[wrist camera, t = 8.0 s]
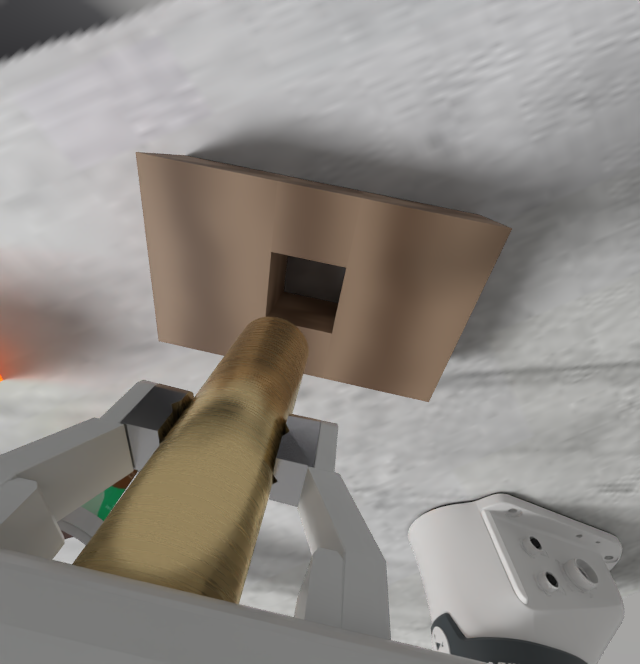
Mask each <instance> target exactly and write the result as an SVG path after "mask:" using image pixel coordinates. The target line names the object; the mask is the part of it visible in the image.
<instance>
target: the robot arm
mask: <svg viewBox="0 0 640 664" xmlns="http://www.w3.org/2000/svg"><path fill="white" fill-rule="evenodd" d="M193 398H194V396H193V393H192V392H190V391H187V390H183V389H179V388H175V387H171V386H167V385H163V384H158V383H154V382H150V381H146V380H142V381H139V382H137V383H136V384H135V385H134V386H133V387H132V388H131V389H130V390H129V391H128V392H127V393H126V394H125V395H124V396H123V397H122V398H120V399H119V400H118V401H117V402H116V403H115V404H114V405H113V406H112V407H111V408H110V409H109V410H108V411H107V412H106V413H105V414H104V415H103V416H102V417H101V418H100V419H99V418H92V419H89V420H87V421H84V422H82V423H79V424H77V425H74V426H72V427H69V428H67V429H64V430H62V431H59V432H57V433H54V434H52V435H49V436H47V437H44V438H42V439H39V440H37V441H34V442H32V443H29V444H27V445H24V446H22V447H19V448H17V449H14V450H12V451H9V452H7V453H4V454H2V455H0V664H597V663H598V661H599V660H600V658H601V656H602V654H603V653H604V651H605V649H606V648H607V646H608V644H609V643H610V641H611V639H612V638H613V636H614V635H615V633H616V631H617V630H618V628H619V627H620V625H621V624H622V621H623V618H624V605H623V601H622V597H621V595H620V592H619V590H618V588H617V585H616V583H615V581H614V579H613V577H612V575H611V573H610V570H611V569H612V568H613V567H614V566H615V565H616V564H617V562H618V561H619V559H620V557H621V555H622V545H621V543H620V541H619V540H618V538H617V537H616V536H614V535H612V534H609V533H607V532H604V531H601V530H599V529H596V528H594V527H591V526H588V525H586V524H583V523H581V522H578V521H575V520H573V519H570V518H568V517H565V516H563V515H560V514H557V513H555V512H552V511H550V510H547V509H544V508H542V507H539V506H537V505H534V504H531V503H529V502H526V501H524V500H521V499H518V498H516V497H513V496H511V495H508V494H494V495H491V496H488V497H485V498H482V499H480V500H477V501H474V502H469V503H462V504H454V505H448V506H444V507H440V508H437V509H434V510H431V511H429V512H427V513H425V514H423V515H422V516H420V517H419V518H418V519H416V520H415V521H414V522H413V524H412V525H411V527H410V529H409V531H408V540H409V543H410V545H411V548H412V550H413V553H414V556H415V558H416V561H417V565H418V568H419V571H420V575H421V578H422V582H423V586H424V590H425V594H426V598H427V602H428V606H429V611H430V616H431V620H432V627H431V634H432V649H433V650H431V649H426V648H422V647H418V646H414V645H410V644H405V643H401V642H397V641H393V640H391V633H390V617H389V601H388V586H387V570H386V561H385V559H384V557H383V555H382V553H381V551H380V549H379V547H378V545H377V544H376V542H375V540H374V538H373V536H372V534H371V532H370V530H369V528H368V527H367V525H366V523H365V521H364V519H363V517H362V515H361V513H360V511H359V510H358V508H357V506H356V504H355V502H354V500H353V498H352V496H351V495H350V493H349V491H348V489H347V487H346V485H345V483H344V481H343V479H342V478H341V476H340V474H339V473H335V472H334V470H335V459H336V447H337V435H338V425H337V424H335V423H331V422H326V421H322V420H317V419H313V418H308V417H303V416H299V415H294V414H289V415H288V418H287V422H286V425H285V431H284V436H282V439H281V442H280V446H279V449H278V453H277V456H276V461H275V466H274V472H273V475H274V480H273V484H272V487H271V491H270V497H269V500H273V501H277V502H281V503H285V504H289V505H292V506H296V507H298V512H299V515H300V518H301V522H302V525H303V528H304V531H305V535H306V538H307V541H308V544H309V548H310V551H311V554H312V558H311V561H310V564H309V566H308V569H307V572H306V575H305V578H304V580H303V583H302V586H301V589H300V591H299V594H298V597H297V602H296V608H295V615H294V617H291V616H287V615H283V614H279V613H274V612H270V611H266V610H262V609H257V608H253V607H249V606H245V605H241V604H236V603H232V602H228V601H224V600H219V599H215V598H211V597H207V596H203V595H198V594H194V593H190V592H186V591H181V590H177V589H173V588H169V587H165V586H160V585H156V584H152V583H148V582H143V581H139V580H135V579H131V578H127V577H122V576H118V575H114V574H110V573H105V572H101V571H97V570H93V569H88V568H84V567H80V566H76V565H72V564H67V563H63V562H59V561H55V560H52V559H53V558H54V557H55V555H56V554H57V553H58V551H59V550H60V549H61V547H62V546H63V545H64V536H63V534H62V532H61V530H60V528H59V526H58V524H57V522H58V521H59V520H61V519H62V518H64V517H65V516H67V515H68V514H70V513H71V512H73V511H74V510H76V509H77V508H79V507H80V506H82V505H83V504H85V503H86V502H88V501H89V500H91V499H92V498H94V497H95V496H97V495H98V494H100V493H101V492H103V491H104V490H106V489H107V488H109V487H110V486H112V485H113V484H115V483H116V482H118V481H119V480H121V479H122V478H124V477H125V476H127V475H128V474H130V473H131V472H133V471H134V469H136V470H142V468H143V467H144V465H145V464H146V463H147V461H148V460H149V459H150V457H151V456H152V455H153V453H154V452H155V450H156V449H157V448H158V446H159V445H160V444H161V442H162V441H163V439H164V438H165V437H166V435H167V434H168V433H169V431H170V430H171V429H172V427H173V426H174V424H175V423H176V422H177V420H178V419H179V418H180V416H181V415H182V413H183V412H184V411H185V409H186V408H187V407H188V405H189V404H190V403H191V401H192V400H193Z"/></svg>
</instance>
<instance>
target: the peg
mask: <svg viewBox="0 0 640 664" xmlns="http://www.w3.org/2000/svg"><path fill="white" fill-rule="evenodd" d="M308 354H309V347H308V343H307V340H306V338H305V336H304V335H303V333H302V332H301V331H300V329H299V328H297V327H296V326H295V325H294V324H292V323H291V322H289V321H287V320H284V319H282V318H278V317H262V318H258V319H255V320H254V321H252V322H250V323H249V324H248V325H247V326H246V327H245V329H244V330H243V331H242V333H241V334H240V335H239V337H238V338H237V340H236V341H235V342H234V344H233V345H232V346H231V348H230V349H229V350H228V352H227V353H226V355H225V356H224V357H223V359H222V360H221V361H220V363H219V364H218V366H217V367H216V368H215V370H214V371H213V372H212V374H211V375H210V377H209V378H208V379H207V381H206V382H205V383H204V385H203V386H202V387H201V389H200V390H199V392H198V393H197V394H196V396H195V397H194V398H193V400H192V401H191V403H190V404H189V405H188V407H187V408H186V409H185V411H184V412H183V413H182V415H181V416H180V418H179V419H178V420H177V422H176V423H175V424H174V426H173V427H172V429H171V430H170V431H169V433H168V434H167V435H166V437H165V438H164V439H163V441H162V442H161V444H160V445H159V446H158V448H157V449H156V450H155V452H154V453H153V455H152V456H151V457H150V459H149V460H148V461H147V463H146V464H145V465H144V467H143V468H142V470H141V471H140V472H139V474H138V475H137V476H136V478H135V479H134V481H133V482H132V483H131V485H130V486H129V487H128V489H127V490H126V491H125V493H124V494H123V496H122V497H121V498H120V500H119V501H118V502H117V504H116V505H115V507H114V508H113V509H112V511H111V512H110V513H109V515H108V516H107V518H106V519H105V520H104V522H103V523H102V524H101V526H100V527H99V528H98V530H97V531H96V533H95V534H94V535H93V537H92V538H91V539H90V541H89V542H88V544H87V545H86V546H85V548H84V549H83V550H82V552H81V553H80V554H79V556H78V557H77V559H76V560H75V561H74V563H73V564H72V565H76V566H80V567H84V568H88V569H93V570H97V571H101V572H105V573H110V574H114V575H118V576H122V577H127V578H131V579H135V580H139V581H143V582H148V583H152V584H156V585H160V586H165V587H169V588H173V589H177V590H181V591H186V592H190V593H194V594H198V595H203V596H207V597H211V598H215V599H219V600H224V601H228V602H232V603H236V604H239V601H240V598H241V594H242V591H243V587H244V583H245V580H246V576H247V573H248V569H249V566H250V562H251V558H252V555H253V551H254V548H255V544H256V541H257V537H258V533H259V530H260V526H261V523H262V519H263V516H264V512H265V509H266V505H267V501H268V498H269V494H270V491H271V487H272V484H273V480H274V475H273V472H274V466H275V461H276V456H277V453H278V449H279V446H280V442H281V439H282V436H284V431H285V425H286V422H287V418H288V415H289V414H292V412H293V409H294V405H295V401H296V398H297V394H298V391H299V387H300V384H301V380H302V376H303V373H304V369H305V366H306V362H307V359H308Z"/></svg>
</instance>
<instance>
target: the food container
mask: <svg viewBox="0 0 640 664" xmlns="http://www.w3.org/2000/svg"><path fill="white" fill-rule="evenodd" d="M137 472H138V470H136V469H134V471H133V472H131V473H130V474H128V475H127V476H125V477H124V478H122V479H121V480H119V481H118V482H116V483H115V484H113V485H112V486H110V487H109V488H107V489H106V490H104V491H103V492H101V493H100V494H98V495H97V496H95V497H94V498H92V499H91V500H89V501H88V502H86V503H85V504H83V505H82V506H80V507H79V508H77V509H76V510H74V511H73V512H71V513H70V514H68V515H67V516H65V517H64V518H62V519H61V520H59V521H58V522H57V524H58V526H59V528H60V530H61V532H62V534H63V536H64V539H67V538H71V537H75V538H76V539H78V540H80V541H81V542H82V543H84V544H85V545H87V544H88V542H89V541H90V539H91V538H92V537H93V535H94V534H95V533H96V531H97V530H98V528H99V527H100V526H101V524H102V523H103V522H104V520H105V519H106V517H107V516H108V514H109V513H110V512H111V510H112V509H113V507H114V506H115V504H116V503H117V501H118V500H119V498H120V497H121V495H122V494H123V492H124V491H125V489H126V488H127V486H128V485H129V484H130V482H131V481H132V479H133V478H134V476H135V475H136V473H137Z"/></svg>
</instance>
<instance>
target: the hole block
mask: <svg viewBox="0 0 640 664" xmlns="http://www.w3.org/2000/svg"><path fill="white" fill-rule="evenodd" d="M136 159H137V167H138V175H139V183H140V192H141V200H142V208H143V216H144V224H145V232H146V241H147V249H148V257H149V265H150V273H151V282H152V290H153V298H154V306H155V314H156V322H157V331H158V339H159V341H161V342H166V343H170V344H174V345H179V346H183V347H188V348H192V349H197V350H201V351H205V352H210V353H214V354H219V355H223V356H225V355H226V353H227V352H228V350H229V349H230V348H231V346H232V345H233V344H234V342H235V341H236V340H237V338H238V337H239V335H240V334H241V333H242V331H243V330H244V329H245V327H246V326H247V325H248V324H249V323H250V322H252V321H254V320H255V319H258V318H262V317H278V318H282V319H284V320H287V321H289V322H291V323H292V324H294V325H295V326H296V327H297V328H299V329H300V331H301V332H302V333H303V335H304V336H305V338H306V340H307V343H308V347H309V354H308V359H307V362H306V366H305V369H304V373H303V374H307V375H311V376H316V377H320V378H325V379H329V380H334V381H338V382H342V383H347V384H351V385H356V386H360V387H364V388H369V389H373V390H378V391H382V392H387V393H391V394H395V395H400V396H404V397H409V398H413V399H418V400H422V401H426V402H429V400H430V398H431V396H432V394H433V392H434V390H435V388H436V386H437V384H438V382H439V380H440V377H441V375H442V373H443V371H444V369H445V367H446V365H447V363H448V361H449V359H450V357H451V355H452V353H453V350H454V348H455V346H456V344H457V342H458V340H459V338H460V336H461V334H462V332H463V330H464V328H465V326H466V323H467V321H468V319H469V317H470V315H471V313H472V311H473V309H474V307H475V305H476V303H477V301H478V299H479V296H480V294H481V292H482V290H483V288H484V286H485V284H486V282H487V280H488V278H489V276H490V274H491V272H492V269H493V267H494V265H495V263H496V261H497V259H498V257H499V255H500V253H501V251H502V249H503V247H504V245H505V242H506V240H507V238H508V236H509V234H510V232H511V230H512V228H509V227H507V226H505V225H502V224H500V223H498V222H495V221H493V220H490V219H488V218H486V217H483V216H481V215H477V214H472V213H467V212H462V211H458V210H453V209H448V208H443V207H438V206H433V205H428V204H423V203H418V202H413V201H408V200H403V199H398V198H393V197H388V196H383V195H378V194H374V193H369V192H364V191H359V190H354V189H349V188H344V187H339V186H334V185H329V184H324V183H319V182H314V181H309V180H304V179H299V178H294V177H289V176H285V175H280V174H275V173H270V172H265V171H260V170H255V169H250V168H245V167H240V166H235V165H230V164H225V163H220V162H215V161H210V160H205V159H201V158H196V157H191V156H186V155H171V154H156V153H141V152H136ZM288 255H289V256H293V257H298V258H303V259H307V260H312V261H317V262H322V263H326V264H331V265H336V266H340V267H345V268H346V271H345V275H344V280H343V284H342V289H341V293H340V298H339V302H338V303H334V302H330V301H325V300H321V299H316V298H311V297H307V296H302V295H298V294H293V293H288V292H284V285H285V276H286V268H287V259H288Z"/></svg>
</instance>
